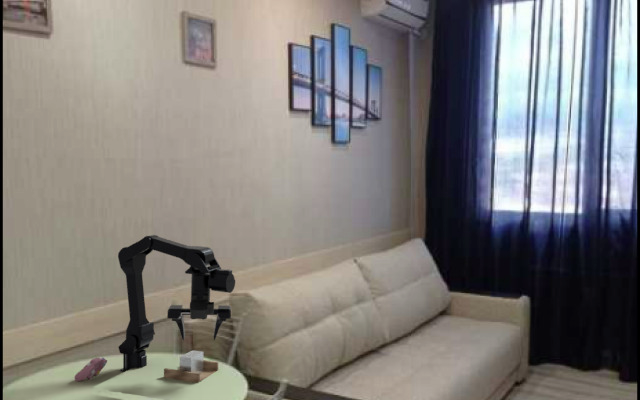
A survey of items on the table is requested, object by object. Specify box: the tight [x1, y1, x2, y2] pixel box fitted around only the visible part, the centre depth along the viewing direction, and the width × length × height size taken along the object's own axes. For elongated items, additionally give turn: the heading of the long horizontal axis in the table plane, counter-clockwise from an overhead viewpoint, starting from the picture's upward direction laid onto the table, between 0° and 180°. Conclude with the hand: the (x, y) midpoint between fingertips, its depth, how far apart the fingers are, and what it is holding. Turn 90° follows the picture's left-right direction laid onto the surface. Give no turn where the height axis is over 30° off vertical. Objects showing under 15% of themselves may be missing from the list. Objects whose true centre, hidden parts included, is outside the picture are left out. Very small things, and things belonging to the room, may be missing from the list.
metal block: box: [179, 350, 204, 373], centre depth 176 cm, size 4×7×6 cm, turn 161°
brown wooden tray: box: [163, 359, 219, 383], centre depth 176 cm, size 12×12×4 cm
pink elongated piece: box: [74, 356, 108, 382], centre depth 177 cm, size 10×5×7 cm, turn 168°
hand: (199, 339), depth 175 cm, fingers open, 9 cm apart
